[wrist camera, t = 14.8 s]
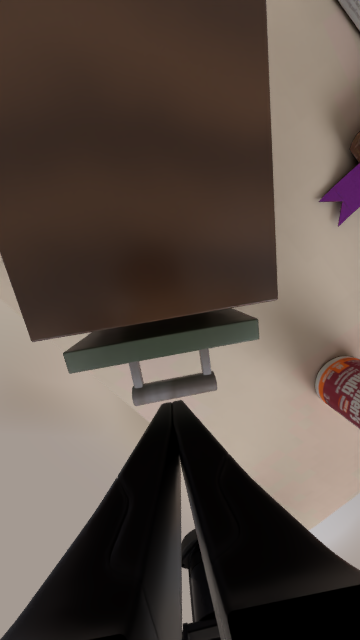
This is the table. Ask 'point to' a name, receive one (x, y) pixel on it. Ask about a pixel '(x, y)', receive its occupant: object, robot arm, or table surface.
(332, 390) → the pill bottle
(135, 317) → the cabinet
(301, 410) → the table surface
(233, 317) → the drawer
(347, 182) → the book
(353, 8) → the small box
